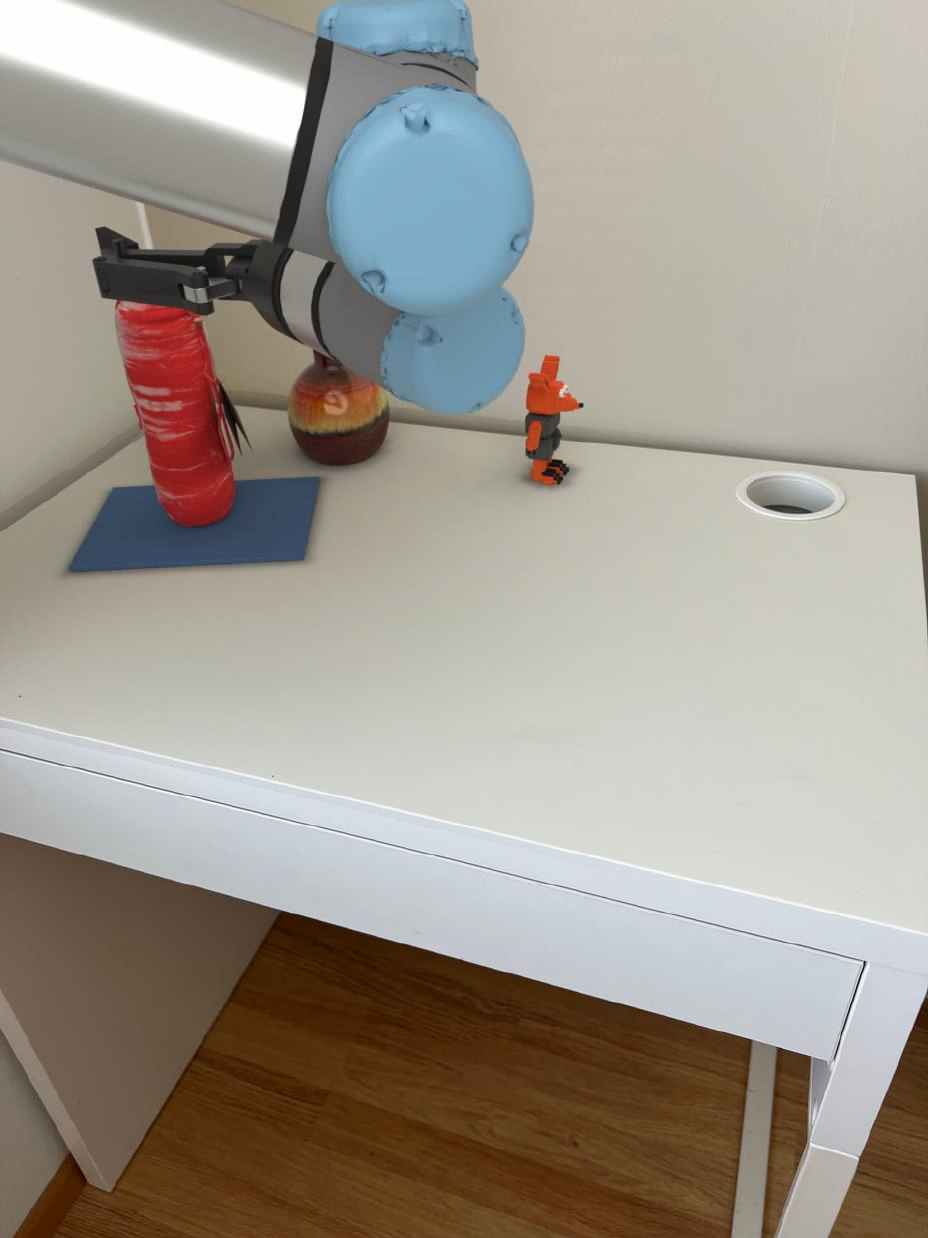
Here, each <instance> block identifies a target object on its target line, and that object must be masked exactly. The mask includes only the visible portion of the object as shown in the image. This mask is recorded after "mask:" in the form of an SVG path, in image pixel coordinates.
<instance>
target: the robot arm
mask: <svg viewBox="0 0 928 1238" xmlns="http://www.w3.org/2000/svg"><path fill="white" fill-rule="evenodd" d="M473 29H474V28H473V18H472V13H471V10H470V7H469V6H468V5H467V4H466V2H465V1H464V0H339V1H335V2H332V3H330V4H327V5H326V6H325V7H324V8H323V9H322V10H321V11H320V12H319V15H318V17H317V20H316V26H315V31H316V32H315V33H313V32H311V31H308V30H305V29H303V28H300V27H298V26H295V25H291V24H289V23H286V22H284V21H281V20H278V19H277V18H276V19H275V18H273V17H270V16H267V15H264V14H262V13H259V12H257V11H254V10H252V9H249V8H246V7H243V6H242V5H241V6H240V5H237V4H235V3H232V2H229V1H227V0H0V161H2V162H4V163H8V164H11V165H14V166H18V167H21V168H24V169H28V170H31V171H35V172H38V173H41V174H44V175H47V176H50V177H55V178H58V179H62V180H64V181H67V182H71V183H74V184H77V185H81V186H84V187H88V188H91V189H95V190H97V191H100V192H104V193H107V194H111V195H113V196H118V197H120V198H124V199H128V200H130V201H134V202H138V203H140V204H143V205H147V206H151V207H154V208H156V209H160V210H164V211H167V212H171V213H173V214H177V215H181V216H183V217H187V218H190V219H194V220H196V221H199V222H203V223H206V224H210V225H213V226H217V227H220V228H223V229H225V230H226V229H227V230H230V231H234V232H237V233H240V234H244V235H246V236H249V237H253V238H255V239H250V240H248V241H247V242H215V243H213V244H212V245H211V246H209V247H207V248H206V249H161V248H159V249H158V248H157V249H154V248H152V249H151V248H140V246H139V243H138V242H137V241H135V240H133V239H130V238H129V237H127V236H125V235H123V234H121V233H120V232H117V231H115V230H113V229H111V228H109V227H107V226H99V227H94V229H95V235H96V238H97V243H98V246H99V247H98V248H99V252H100V255H98V256H96V257H93V258H92V260H91V263H92V266H93V270H94V274H95V278H96V282H97V286H98V290H99V293H100V297H101V299H106V300H115V301H117V300H121V301H128V302H135V303H143V304H150V305H157V306H165V307H172V308H179V309H185V310H187V311H190V312H192V313H194V314H197V315H201V317H202V316H203V317H207V316H210V315H212V314H214V313H215V312H216V311H215V304H214V300H217V301H235V302H236V301H237V302H247V303H250V304H251V305H252V306H253V307H254V309H255V310H256V312H257V313H258V314H259V315H260V317H261V318H262V319H263V320H264V321H265V322H266V323H267V325H269V326H270V327H271V328H273V329H274V330H275V331H277V332H278V333H280V334H282V335H284V336H286V337H288V338H290V339H292V340H293V341H295V342H297V343H299V344H301V345H303V346H305V347H308V348H310V349H312V350H313V349H314V350H316V351H318V352H320V353H321V354H323V355H325V356H327V357H329V358H331V359H333V360H335V361H337V362H338V363H340V364H341V365H343V366H345V367H347V368H349V369H350V370H352V371H354V372H356V373H357V374H359V375H361V376H363V377H364V378H366V379H368V380H370V381H371V382H373V383H375V384H377V385H378V386H380V387H382V388H384V389H385V391H386V392H389V393H390V394H391V395H392V396H393V397H394V398H396V399H398V400H399V401H401V402H402V401H403V402H406V403H408V404H413V405H415V406H417V407H420V408H422V409H424V410H426V411H429V412H434V413H437V414H439V415H443V416H452V417H459V416H465V415H470V414H474V413H476V412H478V411H480V410H482V409H485V408H487V407H488V406H489V405H490V404H492V403H494V402H495V401H496V400H497V399H498V398H499V397H500V396H501V395H502V394H503V393H504V392H505V391H506V389H508V387H509V385H510V384H511V382H512V381H513V380H514V378H515V376H516V374H517V372H518V369H519V367H520V364H521V361H522V359H523V354H524V350H525V343H526V325H525V319H524V316H523V314H522V312H521V310H520V307H519V304H518V303H517V300H516V298H515V297H514V295H513V294H514V293H512V292H511V291H510V290H509V289H508V288H507V287H506V286H505V285H504V284H505V283H506V282H507V281H508V280H509V278H511V275H512V274H513V273H514V271H515V270H516V268H517V267H518V265H519V264H520V261H521V260H522V259H523V257H524V254H525V252H526V250H527V249H528V247H529V245H530V238H531V235H532V231H533V224H534V219H535V204H536V203H535V192H534V184H533V179H532V175H531V171H530V169H529V166H528V163H527V161H526V158H525V156H524V151H523V149H522V146H521V143H520V141H519V138H518V137H517V134H516V132H515V130H514V128H513V127H512V125H511V122H509V120H508V119H507V117H506V116H505V115H504V114H502V113H501V112H500V111H499V110H497V109H496V108H495V107H494V106H493V104H492V103H491V101H489V100H487V99H486V98H483V97H482V96H480V95H479V94H478V93H477V72H479V69H480V63H479V59H478V57H477V55H476V54H475V41H474V30H473ZM226 257H231V259H230V260H229V262H228V263H226Z"/></svg>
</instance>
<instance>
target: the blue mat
mask: <svg viewBox="0 0 928 1238" xmlns="http://www.w3.org/2000/svg"><path fill="white" fill-rule="evenodd" d="M320 482H321V477H320V475H319V476H302V477H299V476H298V477H284V478H281V477H280V478H263V479H247V480H245V479H244V480H242V479H241V480H235V486H236V488H235V494H234V500H233V504H232V506H231V509H230V511H229V513H228V515H227V516H226V517H224V518H223V519H221V520H220V521H218V522H216V523H213V524H209V525H206V526H202V527H186V526H182V525H179V524H177V523H175V522H174V521H173V520H172V519H171V517H170V516H169V515H168V513H167V512H166V510H165V509H164V507H163V506H162V504H161V503H160V501H159V500H158V497H157V493H156V490H155V486H154V484H152V485H135V486H134V485H133V486H116V487H115V486H114V487H112V489H111V491H110V493H109V494H108V496H107V498H106V500H105V501H104V504H103V505H102V507H101V509H100V510H99V512H98V513H97V516H96V518H95V519H94V521H93V523H92V524H91V527H90V528H89V530H88V532H87V534H86V536H85V537H84V539H83V541H82V542H81V544H80V546H79V548H78V549H77V552H76V553H75V555H74V557H73V558H72V560H71V562H70V564H69V565H68V571H69V572H71V573H72V572H73V573H74V572H92V571H110V570H111V571H113V570H128V569H129V570H130V569H131V570H132V569H146V568H147V569H148V568H166V567H186V566H201V565H202V566H204V565H222V564H223V565H225V564H242V563H243V564H244V563H259V562H260V563H263V562H276V561H277V562H280V561H281V562H283V561H298V560H299V561H300V560H304V558H305V554H306V549H307V544H308V539H309V535H310V530H311V524H312V519H313V516H314V510H315V506H316V501H317V497H318V491H319V486H320Z"/></svg>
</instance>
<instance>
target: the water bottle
mask: <svg viewBox="0 0 928 1238" xmlns="http://www.w3.org/2000/svg"><path fill="white" fill-rule="evenodd" d="M114 311H115V313H114V325H115V332H116V338H117V345H118V348H119V352H120V356H121V361H122V364H123V368H124V373H125V377H126V381H127V385H128V388H129V390H130V392H131V395H132V398H133V401H134V405H133V408H134V410H135V413H136V415H137V419H138V426H139V430H143V434H144V441H145V447H146V453H147V458H148V464H149V471H150V476H151V479H152V483H153V485H154V486H155V490H156V493H157V497H158V500H159V501H160V503H161V504H162V506H163V507H164V509H165V510H166V512H167V513H168V515H169V516H170V517H171V519H172V520H173V521H174V522H175V523H177V524H179V525H182V526H186V527H202V526H206V525H209V524H213V523H216V522H218V521H220V520H221V519H223V518H224V517H226V516H227V515H228V513H229V511H230V509H231V506H232V504H233V500H234V494H235V488H236V486H235V481H236V480H235V475H234V470H233V463H232V461H234V459H235V453H236V452H235V446H234V444H233V440H234V441H235V444H236V446H237V449H238V451H239V454H240V456H241V458H242V459H244V458H243V453H242V448H241V443H240V436H239V432H238V429H239V431H240V433H241V435H242V437H243V439H244V440H245V442H246V444H247V445H248V447H249V448H250V451H251V453H252V454H253V455H255V454H254V451H253V448H252V445H251V443H250V441H249V438H248V436H247V433H246V430H245V427H244V425H243V423H242V422H243V421H242V420H241V417H240V415H239V412H238V410H237V408H236V407H235V405H234V403H233V401H232V399H231V398H230V396H229V394H228V393H227V391H226V389H225V387H224V386H223V383H226V379H225V378H223V377H220V374H219V371H218V367H217V363H216V358H215V355H214V351H213V348H212V344H211V340H210V337H209V333H208V330H207V327H206V323H205V321H206V317H205V316H203V317H202V315H197V314H194V313H192V312H190V311H187V310H185V309H179V308H172V307H165V306H157V305H150V304H143V303H135V302H128V301H121V300H116V301H115V306H114ZM222 424H223V428H224V431H225V435H226V439H227V442H226V439H225V437H224V432H223V428H222ZM229 429H230V430H229ZM230 432H231V434H232V436H233V440H232V437H231V434H230ZM227 443H228V445H229V449H230V453H229V449H228V446H227Z"/></svg>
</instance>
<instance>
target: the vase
mask: <svg viewBox="0 0 928 1238" xmlns="http://www.w3.org/2000/svg"><path fill="white" fill-rule="evenodd" d="M312 355H313V362H312V363H310V364H309V365H307V366H306V367H305V368H304V369H303V370H302V371H300V373H299V374H298V375H297V376H296V378H295V379H294V381H293V383H292V385H291V388H290V390H289V393H288V396H287V408H286V412H287V413H286V414H287V420H288V424H289V428H290V431H291V433H292V436H293V438H294V441H295V442H296V445H298V447H299V448H300V449H301V451H302V452H303V454H304V455H306V456H307V457H309V458H310V459H311V460H313V461H315V462H317V463H320V464H323V465H329V466H346V465H351V464H356V463H359V462H362V461H365V460H367V459H369V458H371V457H372V456H373V455H375V454H376V453H377V452H378V451H379V450H380V448H381V447H382V445H383V444H384V442H385V439H386V438H387V434H388V430H389V424H390V403H389V397H388V394H387V390H385V389H384V388H382V387H380V386H378V385H377V384H375V383H373V382H371V381H370V380H368V379H366V378H364V377H363V376H361V375H359V374H357V373H356V372H354V371H352V370H350V369H349V368H347V367H345V366H343V365H341V364H340V363H338V362H337V361H335V360H333V359H331V358H329V357H327V356H325V355H323V354H321V353H320V352H318V351H316V350H314V349H312Z"/></svg>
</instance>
